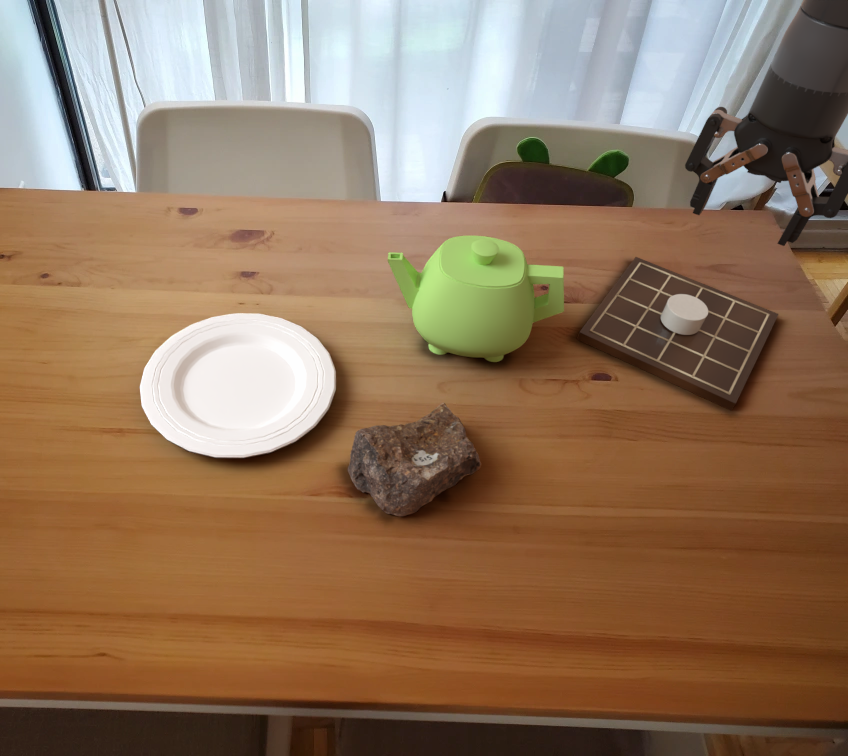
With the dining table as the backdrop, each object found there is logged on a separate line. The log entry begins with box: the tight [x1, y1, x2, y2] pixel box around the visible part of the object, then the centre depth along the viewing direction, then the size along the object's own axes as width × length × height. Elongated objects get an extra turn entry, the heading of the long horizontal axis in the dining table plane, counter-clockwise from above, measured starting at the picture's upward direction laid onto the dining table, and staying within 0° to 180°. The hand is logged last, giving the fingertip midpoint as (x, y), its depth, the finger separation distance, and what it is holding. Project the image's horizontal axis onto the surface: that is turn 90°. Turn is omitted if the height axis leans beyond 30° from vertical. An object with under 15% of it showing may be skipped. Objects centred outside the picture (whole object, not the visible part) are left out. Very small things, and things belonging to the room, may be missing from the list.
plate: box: [139, 312, 337, 459], centre depth 77 cm, size 21×21×2 cm
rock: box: [347, 402, 482, 517], centre depth 69 cm, size 13×8×6 cm, turn 120°
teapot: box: [387, 235, 565, 363], centre depth 81 cm, size 20×13×13 cm
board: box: [576, 256, 779, 411], centre depth 86 cm, size 18×18×1 cm
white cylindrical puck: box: [661, 294, 708, 335], centre depth 85 cm, size 5×5×2 cm
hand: (739, 226), depth 74 cm, fingers open, 8 cm apart
